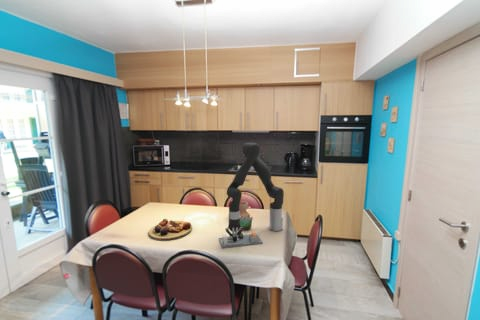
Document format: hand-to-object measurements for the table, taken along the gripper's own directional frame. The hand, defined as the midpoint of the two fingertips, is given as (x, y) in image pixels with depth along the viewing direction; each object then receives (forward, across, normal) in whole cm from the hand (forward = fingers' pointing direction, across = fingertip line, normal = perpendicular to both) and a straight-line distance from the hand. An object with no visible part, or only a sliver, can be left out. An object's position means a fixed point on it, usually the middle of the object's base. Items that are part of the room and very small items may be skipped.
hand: (234, 241), depth 159 cm
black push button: (0, +5, +5) cm, 8 cm away
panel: (+2, +4, +2) cm, 5 cm away
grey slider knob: (0, -7, 0) cm, 7 cm away
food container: (+2, +11, +21) cm, 24 cm away
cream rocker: (-2, -3, +5) cm, 6 cm away
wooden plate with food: (+2, -44, +30) cm, 53 cm away
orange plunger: (0, +13, 0) cm, 13 cm away
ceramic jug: (+2, +13, +42) cm, 44 cm away
